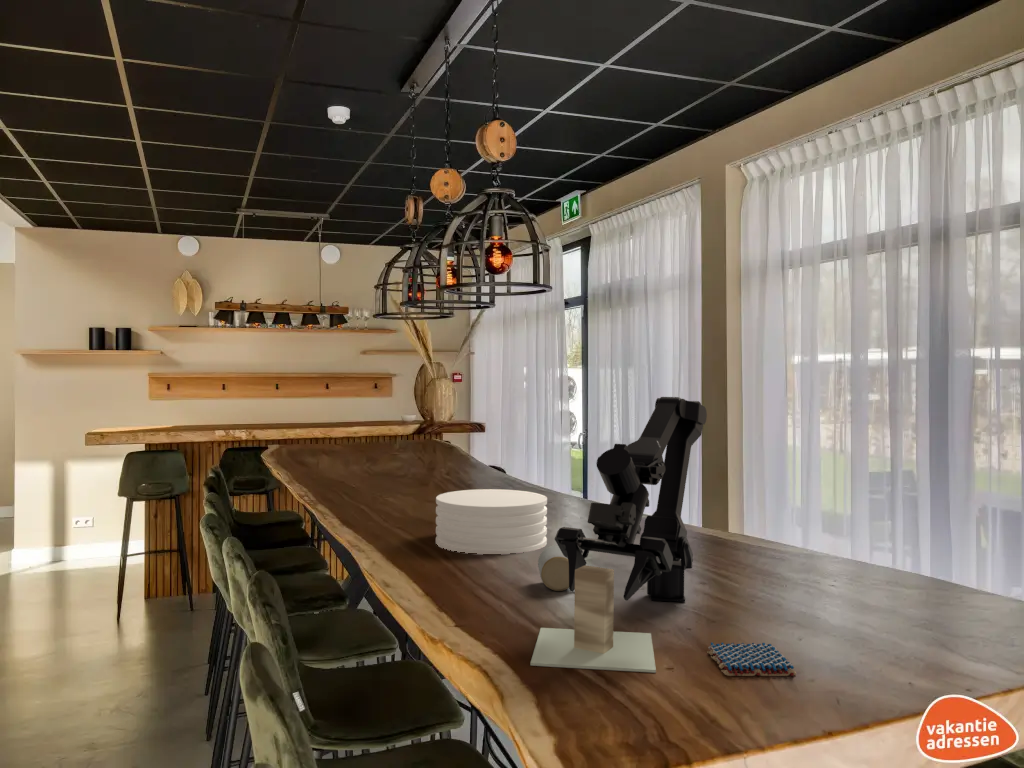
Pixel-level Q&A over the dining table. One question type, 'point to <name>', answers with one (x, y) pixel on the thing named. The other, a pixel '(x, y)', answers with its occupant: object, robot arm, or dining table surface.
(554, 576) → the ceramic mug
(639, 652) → the sage placemat
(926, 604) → the dining table surface
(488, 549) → the plate stack
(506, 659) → the dining table surface
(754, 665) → the woven mat
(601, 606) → the beige rectangular block
